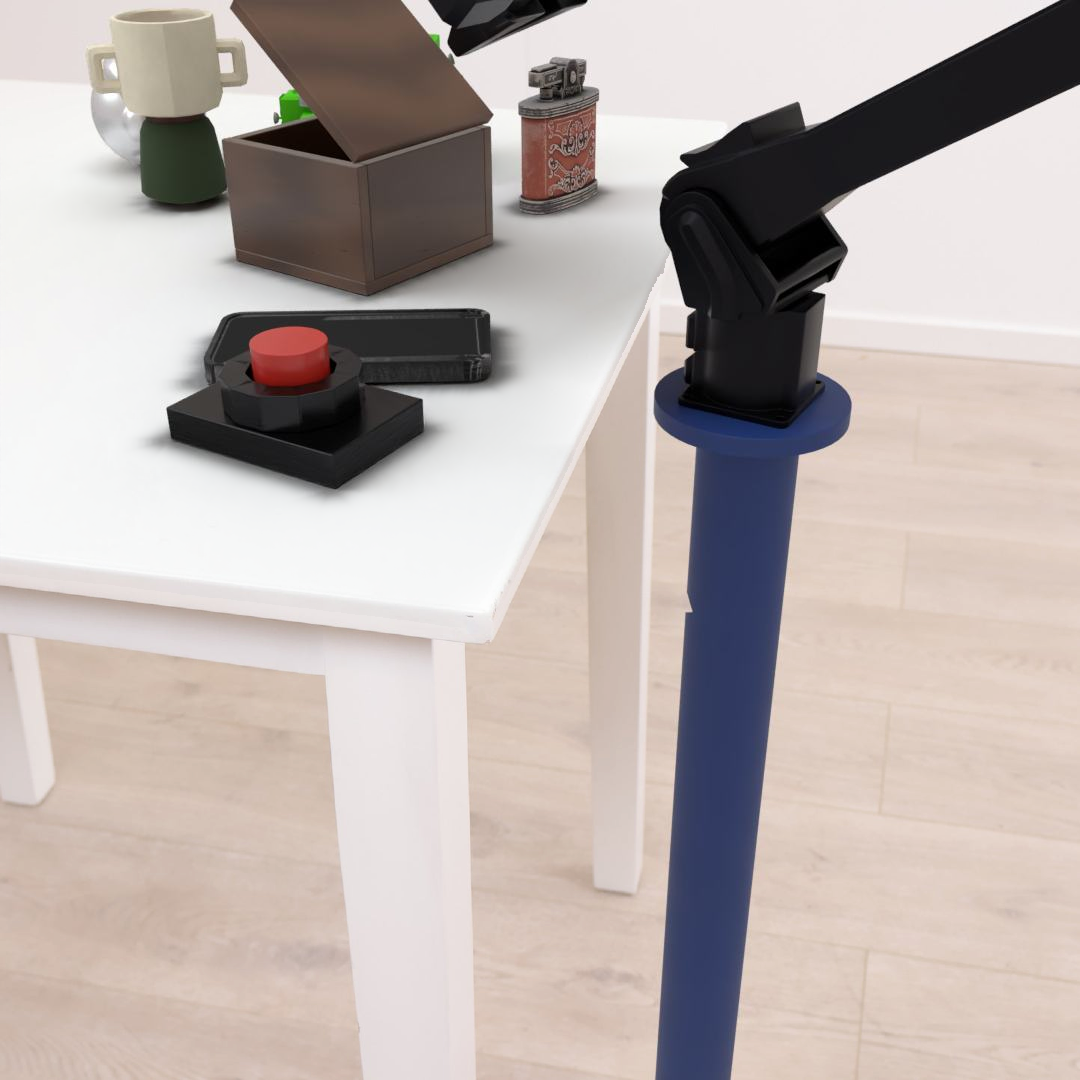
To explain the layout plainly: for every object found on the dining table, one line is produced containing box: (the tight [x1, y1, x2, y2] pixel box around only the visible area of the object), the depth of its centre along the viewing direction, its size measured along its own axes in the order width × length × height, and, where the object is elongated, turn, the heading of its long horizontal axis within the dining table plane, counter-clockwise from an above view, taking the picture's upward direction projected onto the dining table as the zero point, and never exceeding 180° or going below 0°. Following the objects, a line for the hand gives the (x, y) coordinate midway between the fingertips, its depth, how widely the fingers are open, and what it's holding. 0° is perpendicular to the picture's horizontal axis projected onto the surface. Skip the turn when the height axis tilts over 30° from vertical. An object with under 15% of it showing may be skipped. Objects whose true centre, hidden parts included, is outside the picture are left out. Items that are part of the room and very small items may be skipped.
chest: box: [221, 115, 494, 297], centre depth 85 cm, size 12×13×8 cm
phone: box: [203, 307, 492, 385], centre depth 71 cm, size 8×1×15 cm
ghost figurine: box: [90, 58, 207, 166], centre depth 104 cm, size 9×10×10 cm
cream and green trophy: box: [85, 7, 249, 205], centre depth 94 cm, size 11×7×13 cm, turn 105°
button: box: [249, 327, 331, 386], centre depth 61 cm, size 4×4×2 cm
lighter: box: [517, 56, 600, 215], centre depth 95 cm, size 8×3×10 cm, turn 145°
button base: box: [165, 344, 425, 489], centre depth 62 cm, size 10×7×4 cm
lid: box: [229, 0, 494, 164], centre depth 80 cm, size 12×13×1 cm
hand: (455, 49), depth 76 cm, fingers closed
